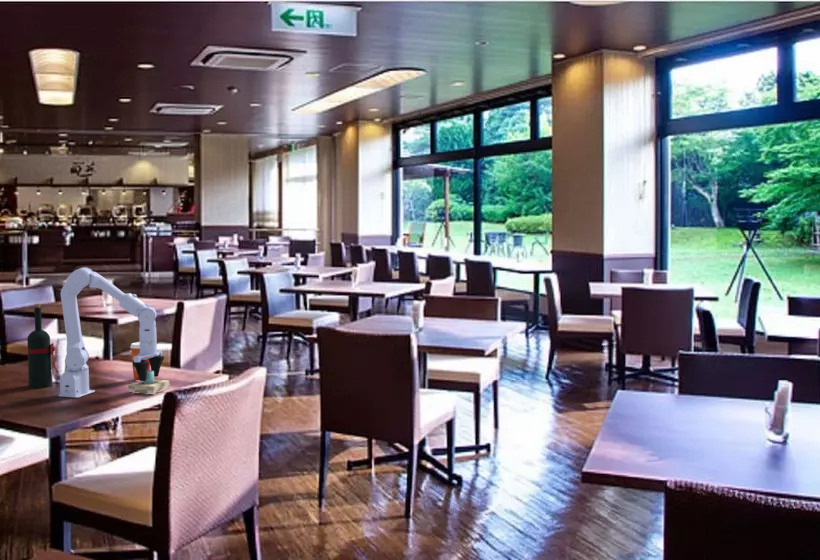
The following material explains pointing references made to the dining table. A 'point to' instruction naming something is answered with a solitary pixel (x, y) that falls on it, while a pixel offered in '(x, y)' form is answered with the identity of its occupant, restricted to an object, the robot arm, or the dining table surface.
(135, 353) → the paper cup
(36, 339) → the wine bottle
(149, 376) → the peg
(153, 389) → the socket block
